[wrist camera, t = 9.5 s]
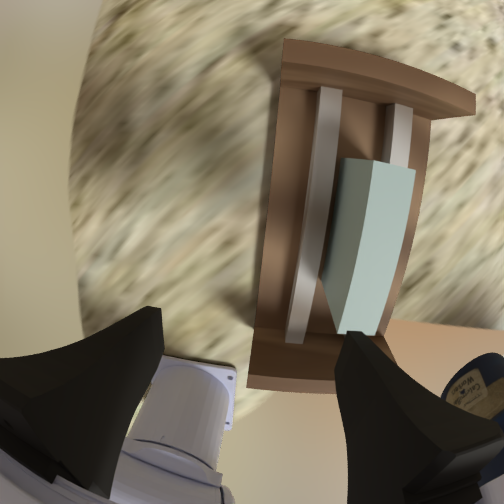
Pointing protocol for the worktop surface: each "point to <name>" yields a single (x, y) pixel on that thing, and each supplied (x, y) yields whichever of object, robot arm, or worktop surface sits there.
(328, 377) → the track base
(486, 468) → the canister
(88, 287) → the worktop surface
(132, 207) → the worktop surface
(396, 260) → the door panel
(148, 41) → the worktop surface
